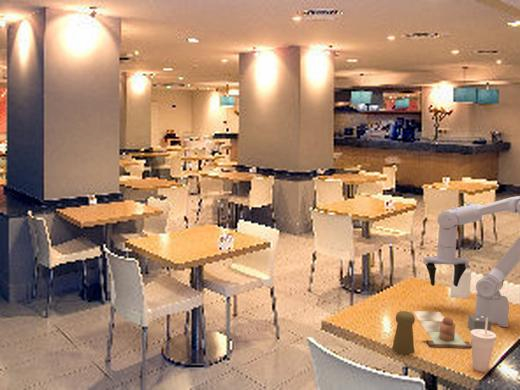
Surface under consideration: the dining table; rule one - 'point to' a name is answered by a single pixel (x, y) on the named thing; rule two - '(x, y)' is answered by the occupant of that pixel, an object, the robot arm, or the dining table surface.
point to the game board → (434, 329)
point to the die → (478, 322)
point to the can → (461, 284)
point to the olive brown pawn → (404, 333)
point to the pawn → (447, 329)
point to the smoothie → (482, 347)
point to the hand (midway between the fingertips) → (443, 285)
